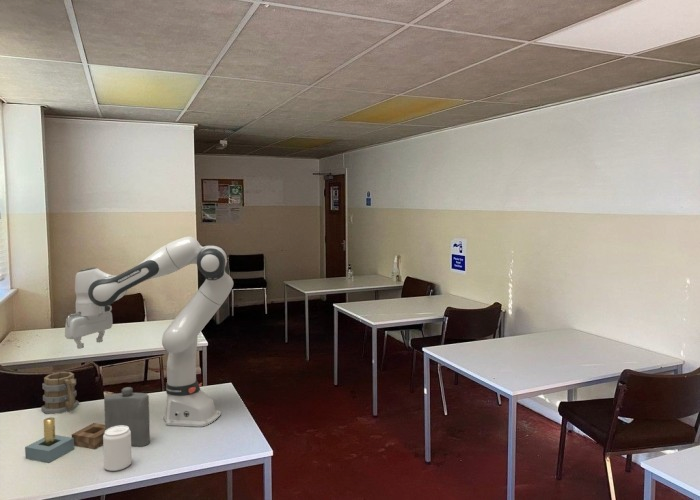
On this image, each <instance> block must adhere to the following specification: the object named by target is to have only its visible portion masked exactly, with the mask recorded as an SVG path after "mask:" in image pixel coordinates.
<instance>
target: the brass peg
mask: <svg viewBox="0 0 700 500" xmlns="http://www.w3.org/2000/svg"><path fill="white" fill-rule="evenodd" d="M55 435H56V423H55V417H47V418H45V419H43V438H44V445H45V446H51V445H53V444H55Z"/></svg>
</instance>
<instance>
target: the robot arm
mask: <svg viewBox="0 0 700 500" xmlns="http://www.w3.org/2000/svg"><path fill="white" fill-rule="evenodd" d="M227 263H228V254H227V251H225V249H224V248H223V247H221V246H219V245H216V244H202V245H201V243H199V241H198V239H196V238H195V237H193V236H190V235H189V236H184V237H182V238H181V237H180V238H178V239H175V240H172V241H170V242H168V243H167V244H165V245H162V246H161V247H160V248H157V249H156V250H155V251H154V252H152V253H151V254H150V255H148V256H147V257H146V258H144V259H143V260H142V261H141V262H140V263H138V264H137V265H135V266H133V267H132V268H130V269H128V270H126V271H124V272H121V273H120V274H118V275H115V274H114V275H113V274H110V273H107V272H104V271H102V270H100V269H99V268H98V267H89V268H84V269H80V270H78V271H77V272H76V274H75V278H74V279H75V280H74V293H75V295H76V296H75V297H76V298H75V312H74V313H70V314H68V316H67V317H66V319H65V327H64V337H65V339H66V340H74V342H75V344H76V347H77V349H80V350H81V349H83V348H85V347H84V345H85V343H84V342H82V341H81V340H82V338H83V337H85V336H89V335H92V334H95V333H98V336H97V337H95V341H96V343H99V344H100V343H103V341H104V339H103V338H104V335H105V333H106V330H110V329H111V328H112V327H113V323H114V322H113V313H112V310H113V308H112V304H114V303H115V302H116V301H119V300H120V299H121V298H123V297H124V296H125V295H126V294H127V292H128V290H129V289H132V288H133V287H135V286H137V285H139V284H141V283H144V282H145V281H148V280H152V279H157V278H160V277H164V276H167V275H170V274H173V273H175V272H178V271H180V270H181V269H183V268H185V267H187V266H190V265H197V269H198V270H199V271H200V273H201V274H202V275H203V277H204V278H205V280H204V282H203V283H202V285H200V287H199V288H198V290H197V291H196V292H195V293H194V294H193V296H192V297H191V298H190V300H189V301H188V302H187V304H185V306H184V307H183V308H182V309H181V310H180V312H179V313H178V314H177V316H176V317H175V318H174V319H173V321H172V322H171V323H170V324H169V325H168V327H166V329H165V330H164V332H163V334H162V338H161V344H162V346H163V349H164V350H165V351H166V352H168V356H167V361H166V379H167V380H166V381H167V382H166V383H165V391H166V405H165V410H164V415H163V420H164V421H165V425H166V426H179V427H180V426H181V427H202V428H203V427H205V426H209V425H211V424H212V422H213V421H214V422H216V421H217V420H218V419H219V418H220V417H221V416H222V411H220V410H217V409H216V407H215V402H214V400H213V398H211V397H210V396H208V395H207V394H206V393H205V392H203V390H201V388H200V387H201V386H203V385H202V384H203V382H200V383H199V382H198V380H197V368H196V367H197V365H196V364H197V350H198V336H199V335H200V334H201V332H202V330H203V329H204V328H205V326H206V325H207V324H208V323H209V322H210V320H211V319H212V318H213V316H214V315H215V314H216V313H217V311H218V310H219V309H220V308H221V306H222V305H223V304H224V302H225V301H226V300H227V298H228V296H229V295H230V293H231V292H232V290H233V289H232V288H233V287H234V280H233V278H232V277H231V276H230V275H229V274H228V273H227V272H226V267H227ZM220 415H221V416H220ZM219 416H220V417H219ZM218 417H219V418H218ZM217 418H218V419H217ZM216 419H217V420H216ZM215 420H216V421H215ZM214 422H213V423H214ZM210 423H211V424H210ZM208 424H209V425H208Z"/></svg>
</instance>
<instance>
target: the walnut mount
mask: <svg viewBox="0 0 700 500" xmlns="http://www.w3.org/2000/svg"><path fill="white" fill-rule="evenodd" d="M104 434H105V423H104V424H102V423H97V422H92V423H91V424H89V425H87V426H85V427H83V428H81V429H79V430H78V431H75V432H73V433H72V434H71V438H74V447H80V448H86V449H92V450H97V449H98V448H100V447H101V446H103V435H104Z"/></svg>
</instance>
